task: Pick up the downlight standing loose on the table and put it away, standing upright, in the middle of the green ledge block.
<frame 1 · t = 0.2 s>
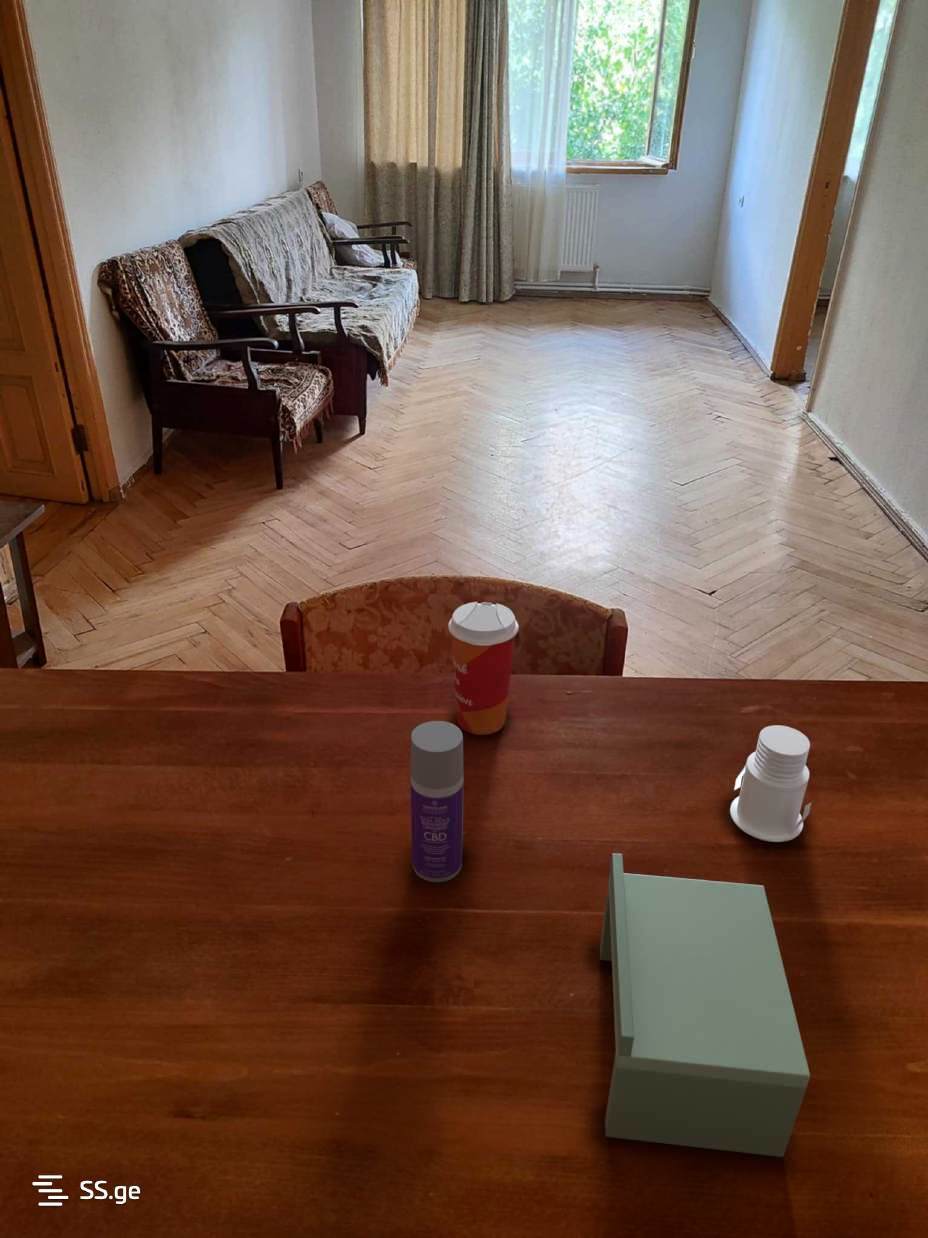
container: (437, 865, 83), on the table
green ledge block: (681, 1041, 67), on the table
paper cup: (480, 722, 103), on the table
downlight: (765, 820, 89), on the table
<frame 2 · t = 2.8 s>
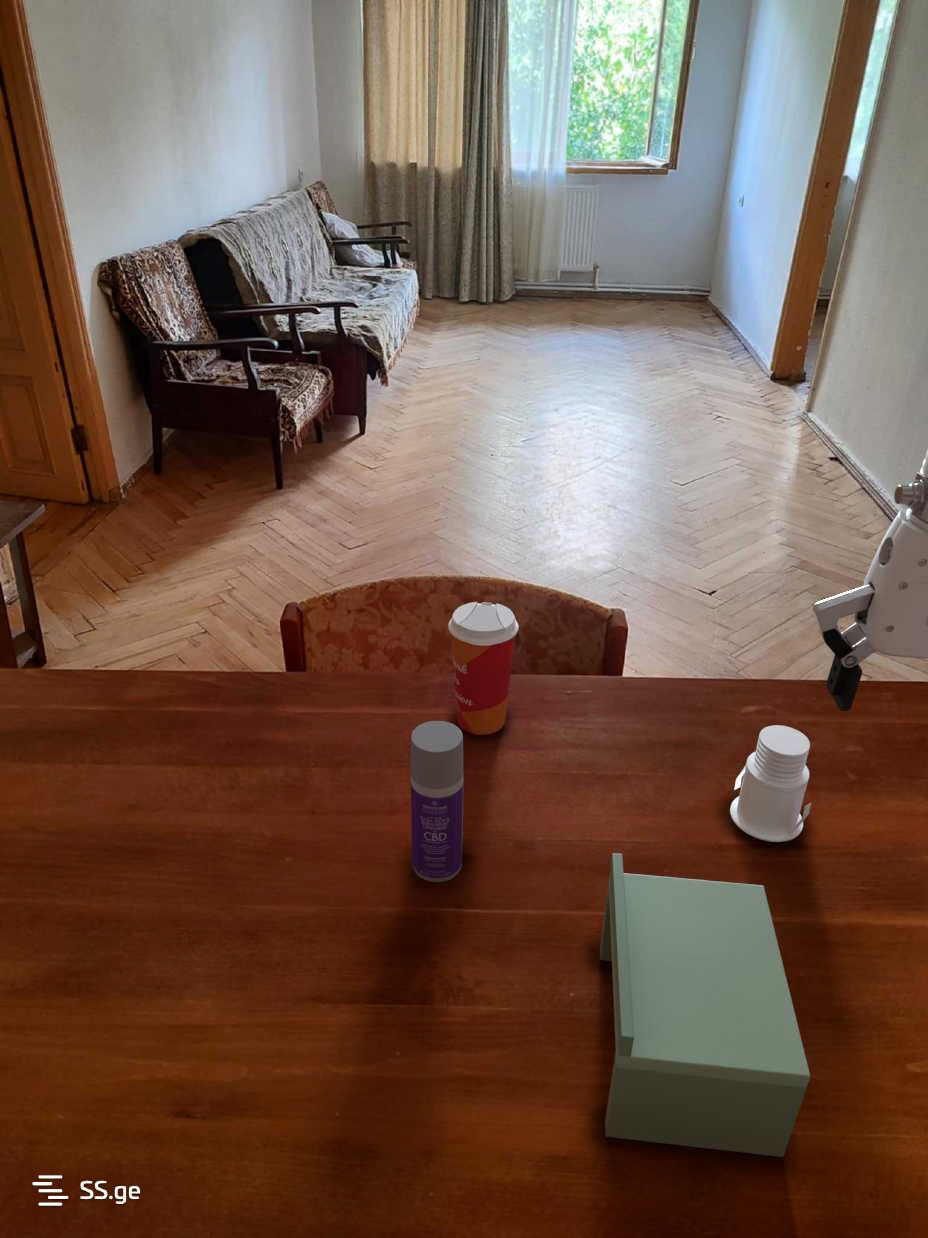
hand: (899, 704, 70), 21 cm above the table, tool pointing down, fingers open, 9 cm apart
nothing on the table moved.
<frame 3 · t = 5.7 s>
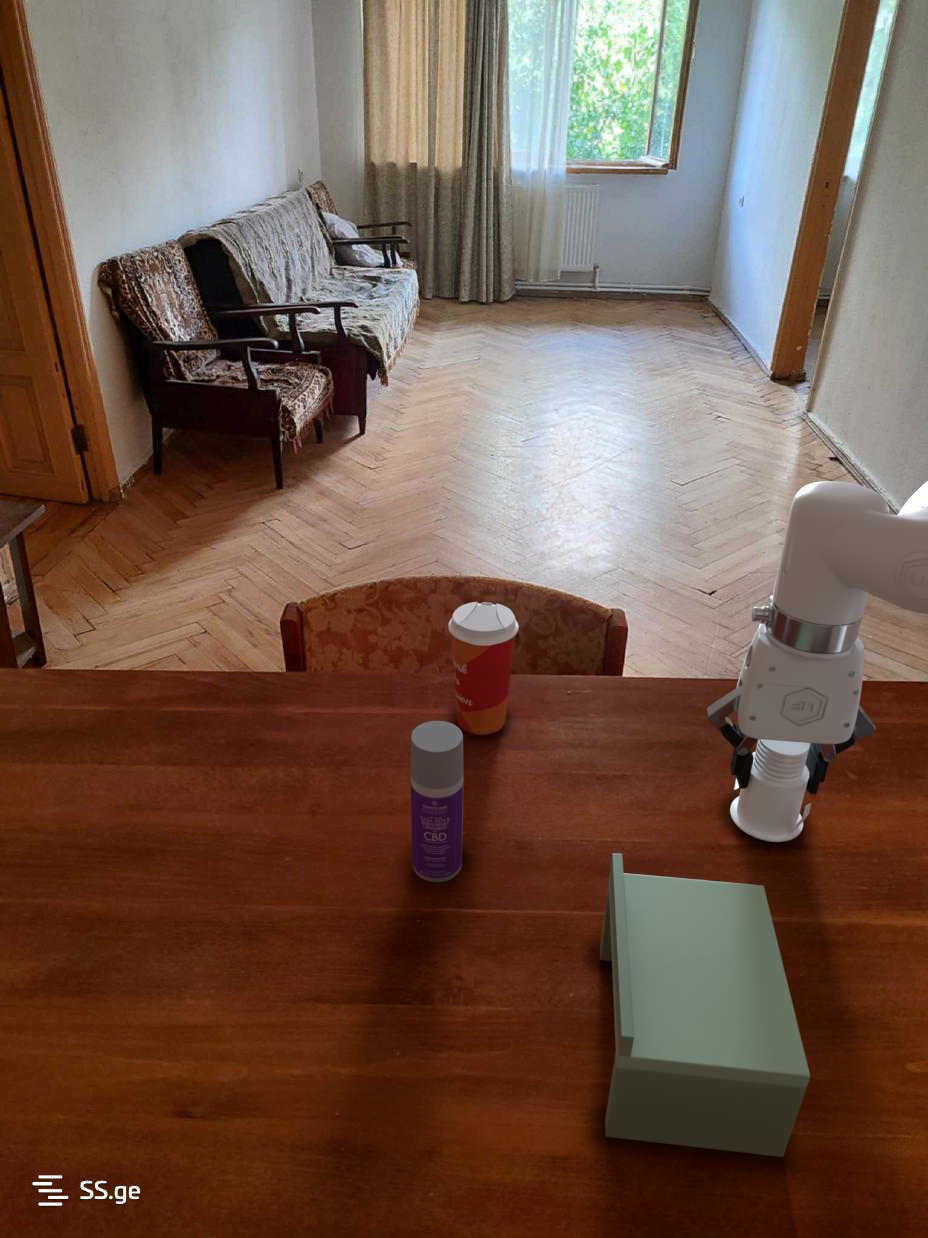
hand: (774, 781, 86), 5 cm above the table, tool pointing down, fingers closed on downlight, 5 cm apart
downlight: (765, 820, 89), on the table, touching gripper
everything else where it was.
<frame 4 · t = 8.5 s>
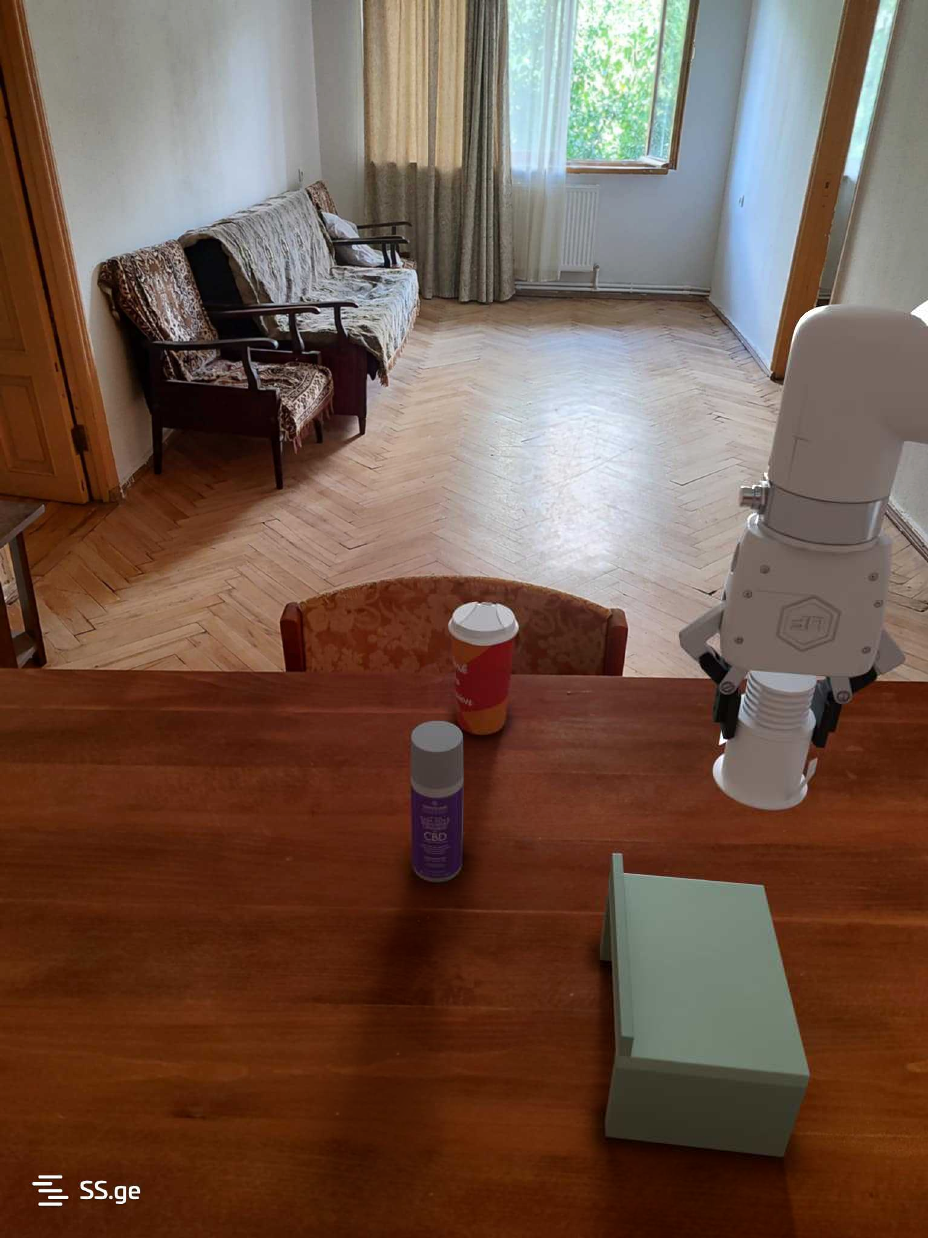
hand: (770, 730, 66), 22 cm above the table, tool pointing down, fingers closed on downlight, 5 cm apart
downlight: (758, 784, 69), point 16 cm above the table, touching gripper
everything else where it was.
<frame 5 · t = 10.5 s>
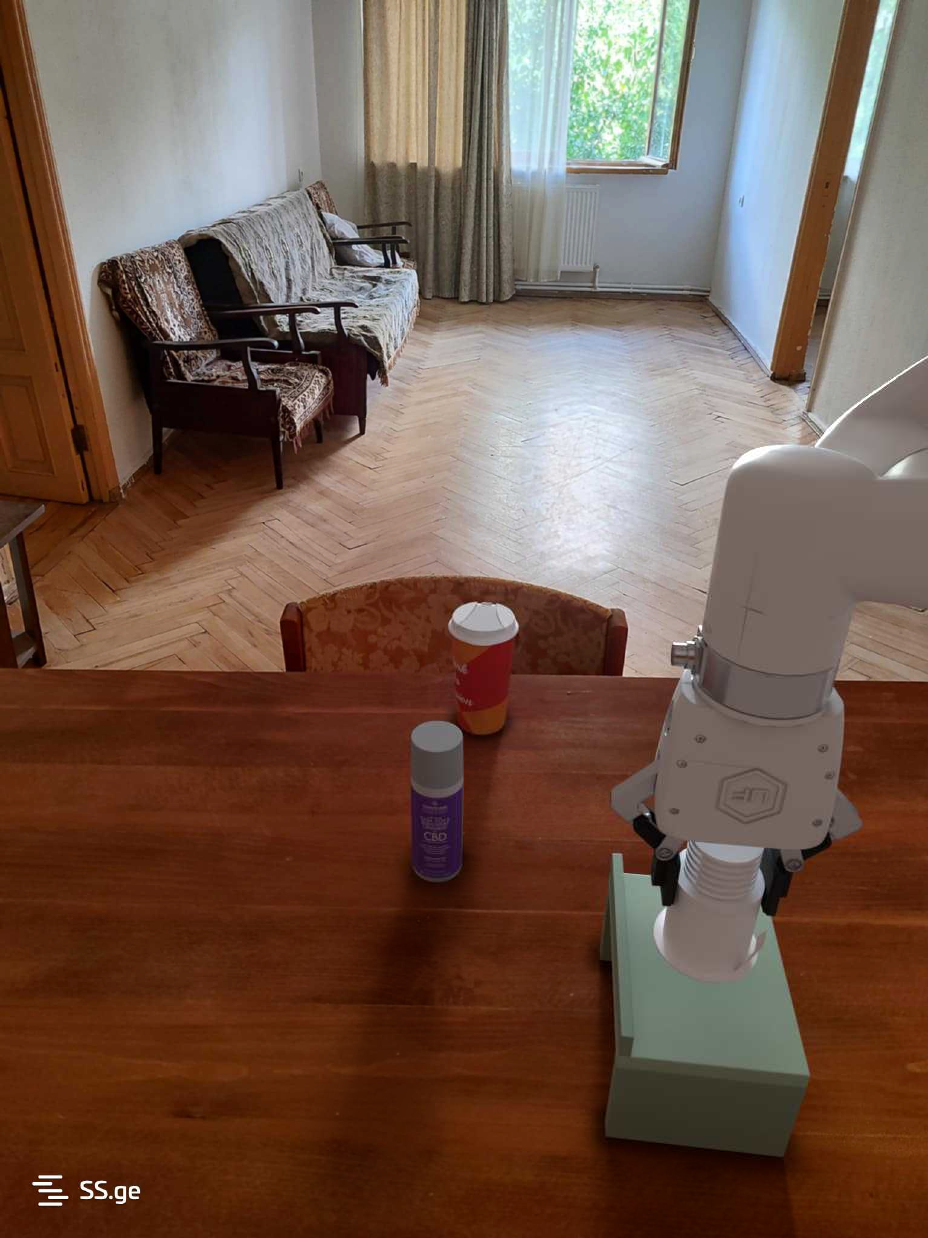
hand: (715, 893, 59), 16 cm above the table, tool pointing down, fingers closed on downlight, 5 cm apart
downlight: (703, 945, 61), point 11 cm above the table, touching gripper
everything else where it was.
when the fingers open (14 cm above the table, at t = 11.7 s): downlight stays where it is, resting on green ledge block.
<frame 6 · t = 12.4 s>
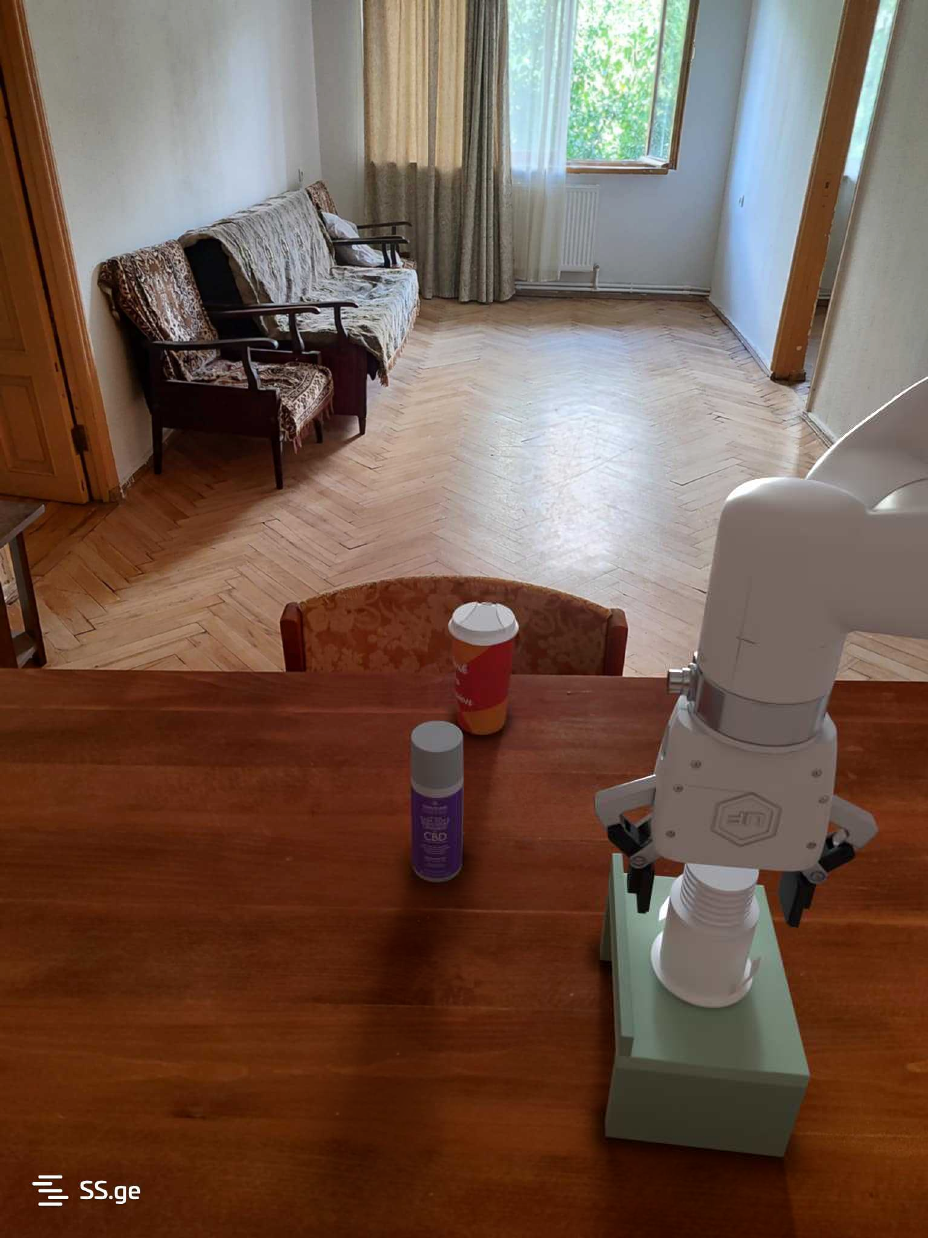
hand: (713, 904, 59), 15 cm above the table, tool pointing down, fingers open, 9 cm apart
downlight: (699, 969, 63), point 9 cm above the table, touching green ledge block
everything else where it was.
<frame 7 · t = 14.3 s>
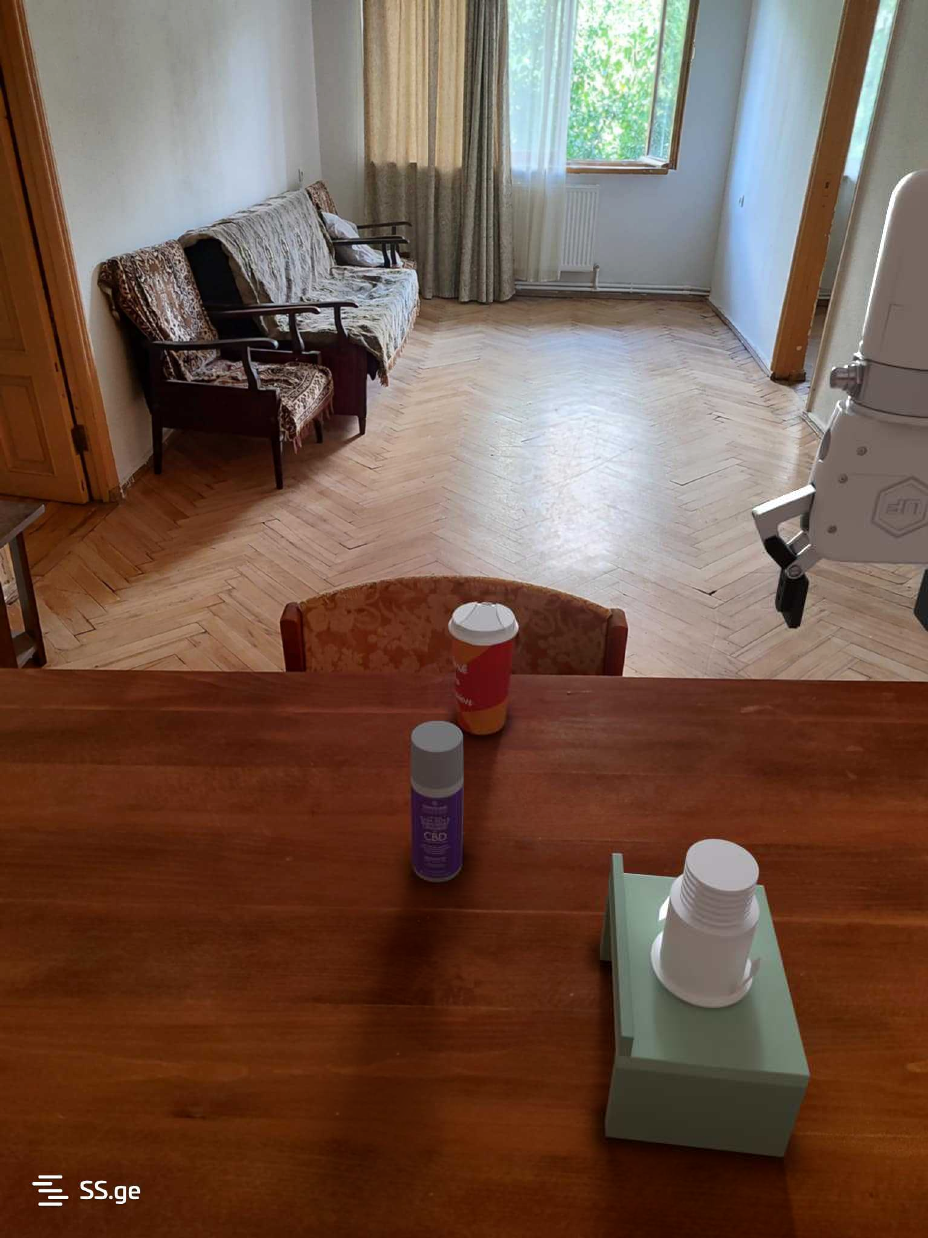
hand: (856, 621, 64), 30 cm above the table, tool pointing down, fingers open, 9 cm apart
nothing on the table moved.
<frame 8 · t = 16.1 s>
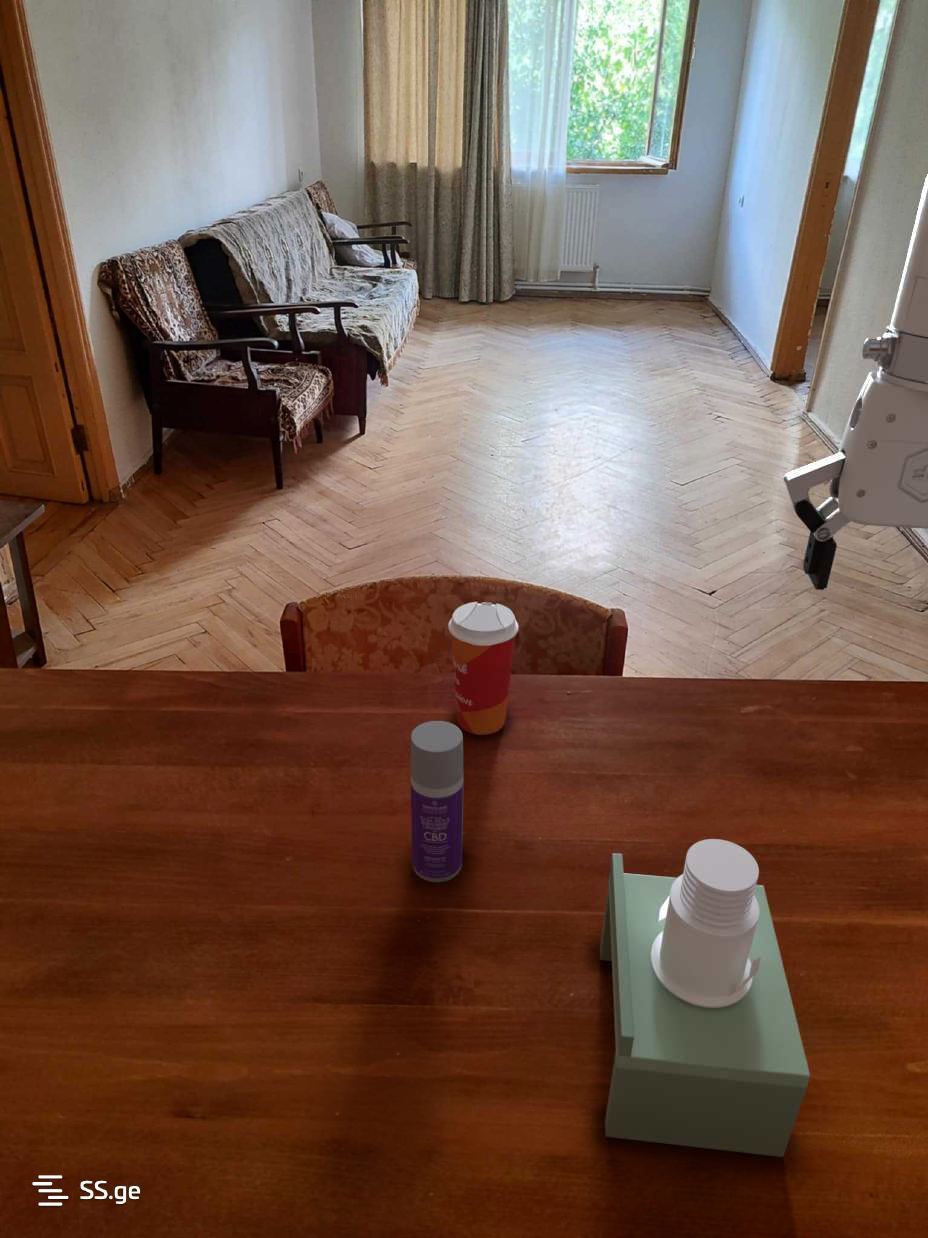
hand: (880, 585, 68), 30 cm above the table, tool pointing down, fingers open, 9 cm apart
nothing on the table moved.
at the end: downlight inside the target area on the green ledge block (0.1 cm from its centre), point 8.8 cm above the green ledge block's base; downlight tilted 0°; the gripper is holding nothing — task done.
